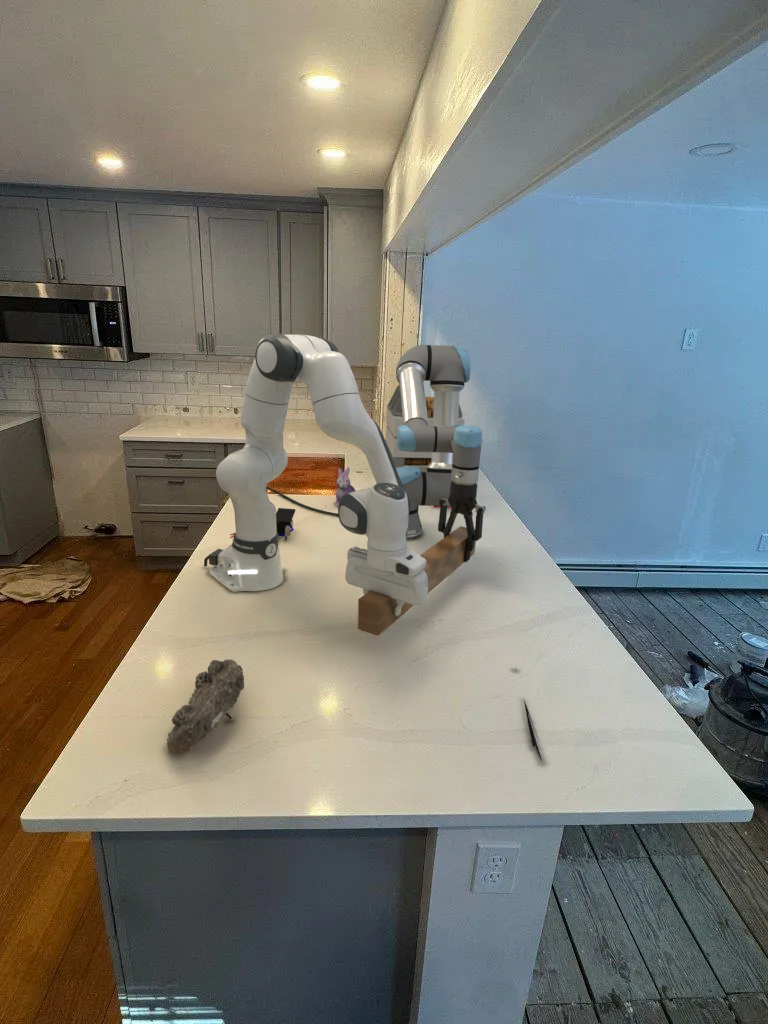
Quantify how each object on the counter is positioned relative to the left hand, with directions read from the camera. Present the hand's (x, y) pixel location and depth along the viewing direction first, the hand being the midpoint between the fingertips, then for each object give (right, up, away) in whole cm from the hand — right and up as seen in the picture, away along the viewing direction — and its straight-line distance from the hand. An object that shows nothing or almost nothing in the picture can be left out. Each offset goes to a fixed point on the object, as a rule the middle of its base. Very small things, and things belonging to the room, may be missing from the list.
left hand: (383, 610), depth 132 cm
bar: (+11, +3, +18) cm, 21 cm away
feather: (+28, -17, -18) cm, 38 cm away
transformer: (+17, +42, +143) cm, 150 cm away
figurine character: (-34, +15, +63) cm, 73 cm away
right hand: (+22, +9, +35) cm, 42 cm away
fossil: (-33, -16, -24) cm, 44 cm away
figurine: (-15, +26, +96) cm, 100 cm away
